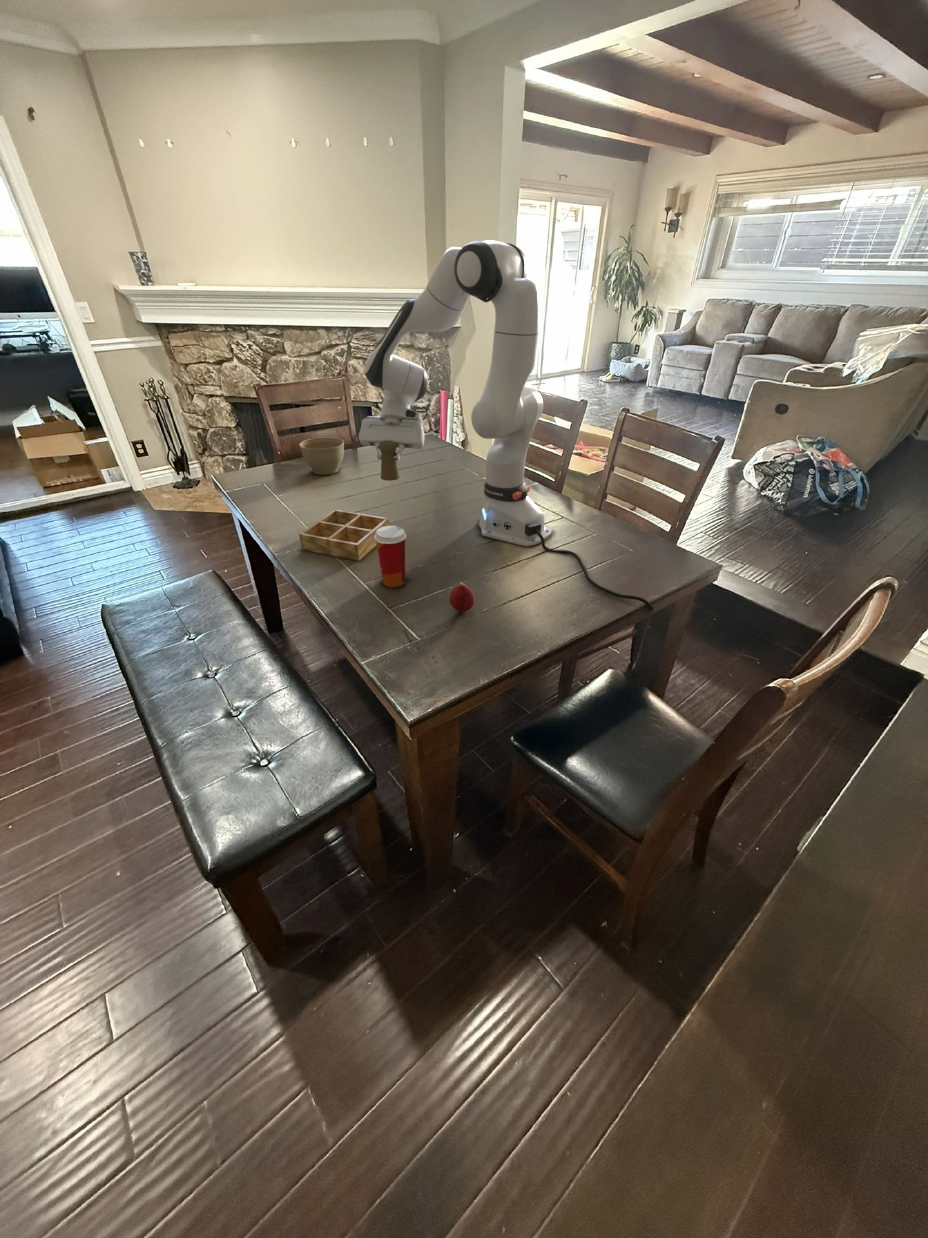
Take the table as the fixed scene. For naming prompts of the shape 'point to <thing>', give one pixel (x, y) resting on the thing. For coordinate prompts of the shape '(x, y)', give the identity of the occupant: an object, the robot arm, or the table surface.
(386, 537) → the paper cup
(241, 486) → the table surface
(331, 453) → the planter bowl
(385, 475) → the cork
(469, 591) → the onion
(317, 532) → the wooden compartment tray
